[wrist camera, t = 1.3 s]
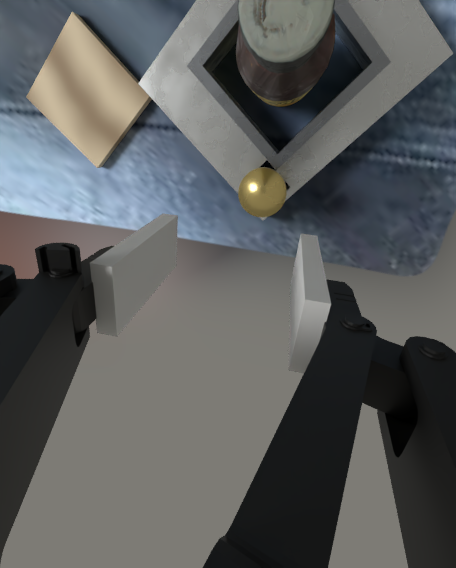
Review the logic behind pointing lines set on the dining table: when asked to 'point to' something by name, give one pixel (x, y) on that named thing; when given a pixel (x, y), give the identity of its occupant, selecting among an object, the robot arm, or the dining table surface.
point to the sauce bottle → (284, 46)
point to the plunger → (262, 192)
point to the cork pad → (88, 92)
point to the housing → (328, 122)
